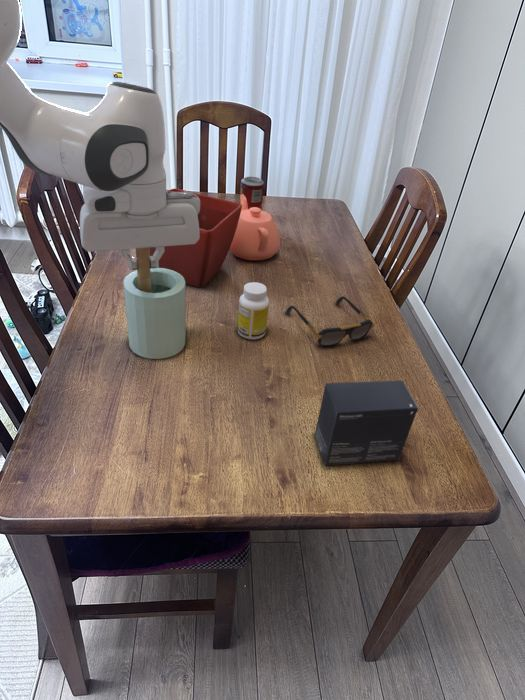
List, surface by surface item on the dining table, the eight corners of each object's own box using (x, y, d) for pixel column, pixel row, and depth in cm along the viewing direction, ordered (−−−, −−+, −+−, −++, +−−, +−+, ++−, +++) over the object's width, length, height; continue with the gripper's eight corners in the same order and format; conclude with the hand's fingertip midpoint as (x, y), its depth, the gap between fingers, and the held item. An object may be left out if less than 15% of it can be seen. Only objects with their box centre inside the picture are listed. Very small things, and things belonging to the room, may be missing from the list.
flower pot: (239, 265, 128) (243, 203, 118) (208, 298, 114) (210, 231, 104) (174, 248, 133) (173, 187, 122) (136, 278, 118) (132, 212, 108)
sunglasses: (336, 304, 117) (340, 286, 114) (373, 339, 107) (378, 321, 104) (285, 313, 112) (288, 295, 109) (319, 352, 101) (323, 332, 98)
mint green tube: (132, 362, 93) (126, 300, 85) (126, 328, 101) (121, 269, 93) (189, 355, 96) (190, 295, 88) (180, 323, 105) (179, 265, 96)
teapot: (215, 234, 142) (216, 193, 134) (263, 232, 146) (267, 192, 139) (236, 270, 126) (239, 226, 118) (289, 266, 130) (296, 223, 123)
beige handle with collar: (137, 326, 93) (131, 249, 83) (133, 313, 96) (127, 238, 86) (160, 323, 94) (157, 247, 85) (155, 311, 98) (152, 236, 88)
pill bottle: (266, 325, 107) (272, 282, 100) (264, 342, 102) (269, 297, 96) (239, 322, 107) (242, 278, 101) (235, 338, 102) (238, 293, 96)
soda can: (265, 219, 154) (269, 180, 147) (248, 224, 150) (251, 184, 143) (250, 212, 158) (253, 173, 151) (234, 216, 154) (236, 177, 147)
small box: (385, 430, 85) (403, 378, 78) (400, 461, 80) (421, 409, 72) (312, 434, 83) (324, 381, 75) (323, 466, 77) (337, 413, 70)
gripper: (195, 184, 86) (194, 255, 94) (73, 188, 79) (83, 264, 87) (205, 197, 81) (203, 270, 90) (76, 202, 74) (87, 281, 83)
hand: (143, 267), depth 89 cm, fingers closed on beige handle with collar, 2 cm apart
